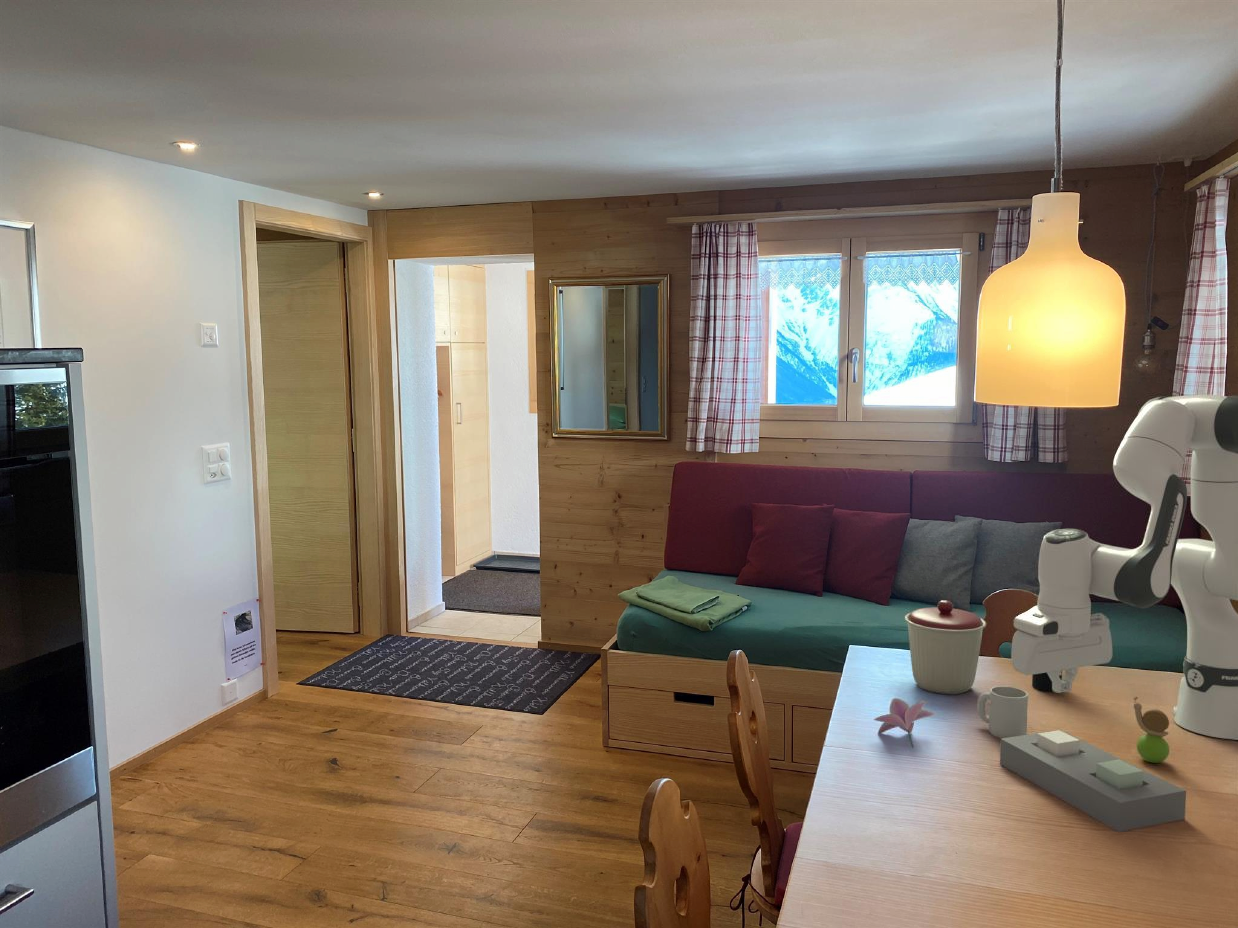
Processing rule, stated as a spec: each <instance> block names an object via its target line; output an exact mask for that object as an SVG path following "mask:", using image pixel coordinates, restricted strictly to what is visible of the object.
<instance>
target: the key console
mask: <svg viewBox="0 0 1238 928" xmlns="http://www.w3.org/2000/svg"><path fill="white" fill-rule="evenodd" d="M1057 730H1058V729H1056V730H1053V731H1057ZM1059 730H1060V731H1062V732H1064V733H1066V734H1068V735H1070V736H1072V737H1074V738H1076V739H1078V740H1080V743H1079V754H1073V755H1067V756H1061V757H1056V756H1054V755H1052V754H1050V753H1048V752H1046V751H1044V750H1042V749H1040V748H1038V747H1037V737H1038V733H1039V732H1036V733H1030V734H1029V733H1028V734H1026V735H1021V736H1015V737H1008V738H1000V749H999V750H1000V754H999V765H1001V766H1003V767H1004V768H1006V769H1008V770H1009V771H1011V772H1014V773H1015V774H1017V775H1019V776H1021V777H1022V778H1024V779H1025V780H1027V781H1029V782H1031V783H1033V784H1034V785H1036V786H1038V787H1039V788H1040V789H1043V790H1044V791H1046V792H1048V793H1050V794H1051V795H1053V796H1054V797H1057V798H1059V800H1061V801H1063V802H1066V803H1067V804H1069V805H1071V806H1072V807H1073V808H1076V809H1078V810H1079V811H1081V812H1082V813H1085V814H1086V815H1088V816H1089V817H1092V818H1094V819H1095V820H1096V821H1099V822H1100V823H1101V824H1104V825H1105V826H1107V827H1109V828H1111V829H1112V830H1114V831H1116V832H1118V833H1121V832H1126V831H1131V830H1137V829H1140V828H1146V827H1152V826H1157V825H1163V824H1167V823H1171V822H1178V821H1182V820H1185V819H1186V802H1187V790H1186V789H1184V788H1183V787H1180V786H1178V785H1176V784H1174V783H1173V782H1169V781H1168V780H1166V779H1163V778H1161V777H1159V776H1157V775H1155V774H1153V773H1151V772H1148V771H1147V770H1145V769H1143V768H1141V767H1139V766H1137V765H1135V764H1132V763H1130V762H1128V761H1126V760H1124V759H1122V758H1121V757H1118V756H1116V755H1113V754H1111V753H1110V752H1108V751H1105V750H1104V749H1101V748H1099V747H1098V746H1095V745H1093V744H1091V743H1089V742H1086V741H1085V740H1084V739H1083V740H1082V739H1080V738H1079V737H1077V736H1075V735H1073V734H1070V733H1068V732H1066V731H1064V730H1062V729H1059ZM1051 731H1052V730H1050V731H1049V730H1048V731H1047V732H1051ZM1044 732H1045V731H1041V732H1040V733H1044ZM1118 759H1120V760H1122V761H1124V762H1126V763H1128V764H1130V765H1132V766H1134V767H1136V768H1138V769H1140V770H1142V771H1143V786H1138V787H1133V788H1127V789H1122V790H1119V789H1117V788H1115V787H1113V786H1111V785H1109V784H1107V783H1105V782H1103V781H1102V780H1100V779H1098V778H1096V764H1097V763H1100V762H1106V761H1112V760H1118Z"/></svg>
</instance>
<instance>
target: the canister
mask: <svg viewBox="0 0 1238 928" xmlns="http://www.w3.org/2000/svg"><path fill="white" fill-rule="evenodd" d="M904 621H905V622H906V623H907V629H908V642H909V652H910V661H911V671H912V676H913V680H914V681H915V684H916V685H918V686H919V687H920V688H921V689H923V690H926V691H928V692H932V693H937V694H942V695H943V694H945V695H959V694H963V693H967V692H968V691H970V690H971V689H972V687H973V686H974V683H975V680H976V675H977V674H976V673H977V668H978V663H979V659H980V658H979V656H980V652H981V651H980V650H981V646H982V645H981V643H982V636H983V630H984V628H986V627H987V622H986V620H984V619H983V618H981V617H979V615H977V614H975V613H974V612H970V611H967V610H963V609H959V608H954V604H953V602H951V601H950V600H946V599H945V600H944V599H943V600H939V602H937V607H935V606H934V607H932V606H931V607H923V608H918V609H914V610H913V611H911V612H909V613H907V614H906V615H905V616H904Z"/></svg>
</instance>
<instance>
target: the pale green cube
mask: <svg viewBox="0 0 1238 928" xmlns="http://www.w3.org/2000/svg"><path fill="white" fill-rule="evenodd" d="M1120 759H1121V758H1120ZM1120 759H1118V760H1112V761H1106V762H1100V763H1097V764H1096V778H1098V779H1100V780H1102V781H1103V782H1105V783H1107V784H1109V785H1111V786H1113V787H1115V788H1117V789H1119V790H1122V789H1127V788H1133V787H1138V786H1143V771H1142V770H1140V769H1138V768H1136V767H1134V766H1132V765H1133V764H1132V765H1130V764H1131V763H1130V764H1128V763H1129V762H1128V763H1126V762H1127V761H1126V762H1124V761H1125V760H1124V761H1122V760H1123V759H1122V760H1120Z"/></svg>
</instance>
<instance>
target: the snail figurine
mask: <svg viewBox="0 0 1238 928" xmlns="http://www.w3.org/2000/svg"><path fill="white" fill-rule="evenodd" d="M1137 699H1139V698H1138V696H1134V697H1133V700H1134V701H1137ZM1142 708H1143V706H1142V704H1141V703H1140V702H1134V703H1133V709H1134V713H1135V719H1136V721H1137V725H1138V726H1139V728H1140V729H1141V731H1144V732H1145V733H1144V734H1143V735H1141V736H1140V737H1139V738H1138V740H1137V743H1136V750H1137V752H1138V754H1139V756H1140V757H1141V758H1142V759H1143V760H1145V761H1146V762H1149V763H1154V764H1155V763H1156V764H1158V763H1159V764H1160V763H1162V762H1164V761H1165V760H1167V758H1168V757H1169V755H1170V746H1169V744H1168V741H1167V740H1166V739H1165V738H1164V737H1166V736H1168V735H1169V734H1170V733H1169V732H1168V731H1166V730H1167V729H1168V728H1169V726H1170V721H1169V718H1168V716H1167V714H1166V713H1164V711H1162V710H1160V709H1156V708H1153V709H1147V710H1146V711H1145V712H1144V713H1142Z"/></svg>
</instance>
